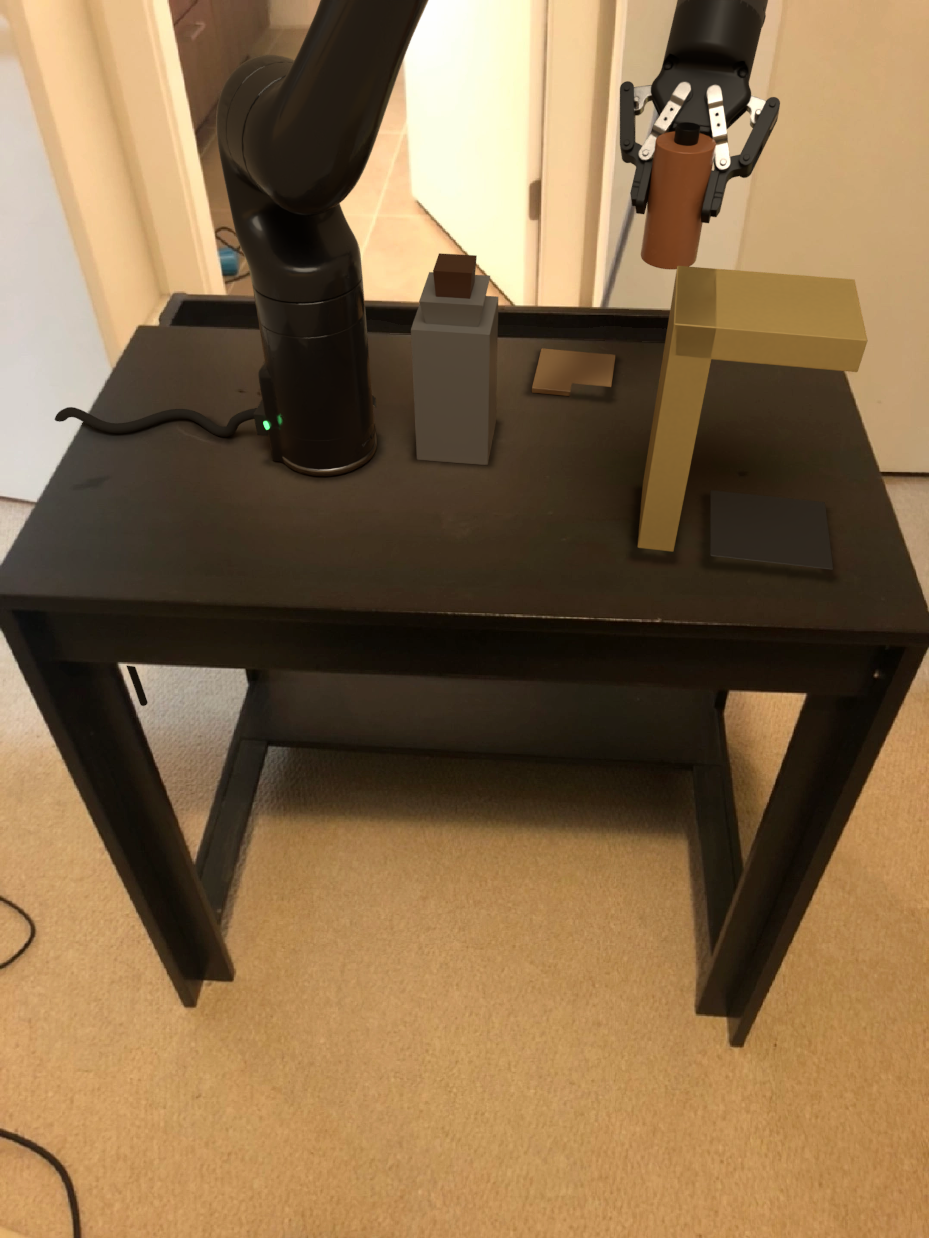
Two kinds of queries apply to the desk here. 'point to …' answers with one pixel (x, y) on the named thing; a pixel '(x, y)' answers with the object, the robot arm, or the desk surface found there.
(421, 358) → the perfume bottle
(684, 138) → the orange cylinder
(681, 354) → the tan l-shaped post
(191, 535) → the desk surface
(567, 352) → the cork mat
